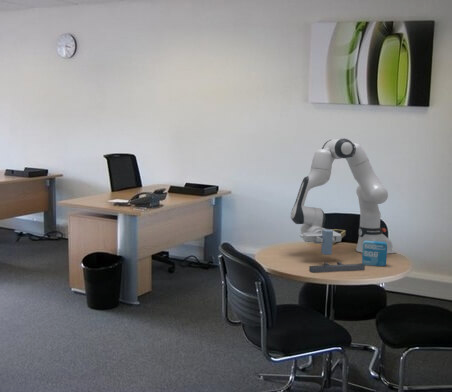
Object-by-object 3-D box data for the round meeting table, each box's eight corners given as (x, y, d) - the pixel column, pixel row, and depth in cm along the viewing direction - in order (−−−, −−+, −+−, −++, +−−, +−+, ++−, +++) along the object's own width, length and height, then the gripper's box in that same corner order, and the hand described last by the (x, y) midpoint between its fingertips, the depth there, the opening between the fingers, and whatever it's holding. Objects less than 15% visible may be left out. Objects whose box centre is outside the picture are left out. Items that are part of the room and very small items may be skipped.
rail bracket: (357, 265, 271) (357, 261, 271) (364, 270, 264) (364, 265, 263) (305, 268, 265) (305, 263, 265) (311, 272, 257) (311, 267, 257)
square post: (328, 252, 275) (329, 229, 274) (331, 254, 271) (333, 231, 270) (321, 252, 274) (322, 229, 273) (324, 254, 270) (325, 231, 269)
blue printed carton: (361, 264, 274) (363, 241, 273) (361, 262, 278) (363, 240, 277) (386, 266, 271) (387, 243, 269) (385, 264, 275) (387, 241, 274)
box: (346, 237, 335) (346, 230, 333) (332, 249, 317) (331, 242, 315) (334, 236, 339) (333, 228, 338) (319, 248, 321) (318, 240, 320)
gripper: (299, 229, 281) (309, 234, 268) (335, 229, 286) (346, 234, 273) (298, 241, 282) (308, 247, 269) (334, 240, 287) (345, 246, 274)
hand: (327, 240), depth 271 cm, fingers closed on square post, 4 cm apart
